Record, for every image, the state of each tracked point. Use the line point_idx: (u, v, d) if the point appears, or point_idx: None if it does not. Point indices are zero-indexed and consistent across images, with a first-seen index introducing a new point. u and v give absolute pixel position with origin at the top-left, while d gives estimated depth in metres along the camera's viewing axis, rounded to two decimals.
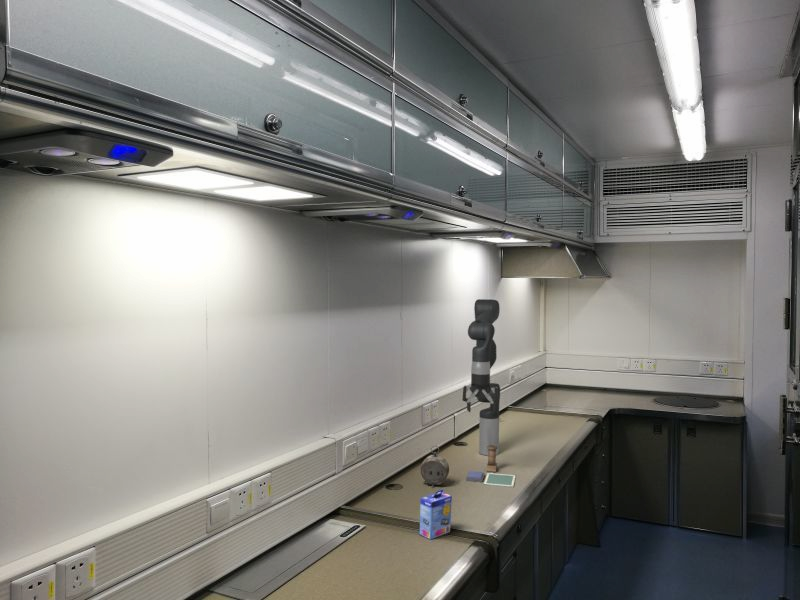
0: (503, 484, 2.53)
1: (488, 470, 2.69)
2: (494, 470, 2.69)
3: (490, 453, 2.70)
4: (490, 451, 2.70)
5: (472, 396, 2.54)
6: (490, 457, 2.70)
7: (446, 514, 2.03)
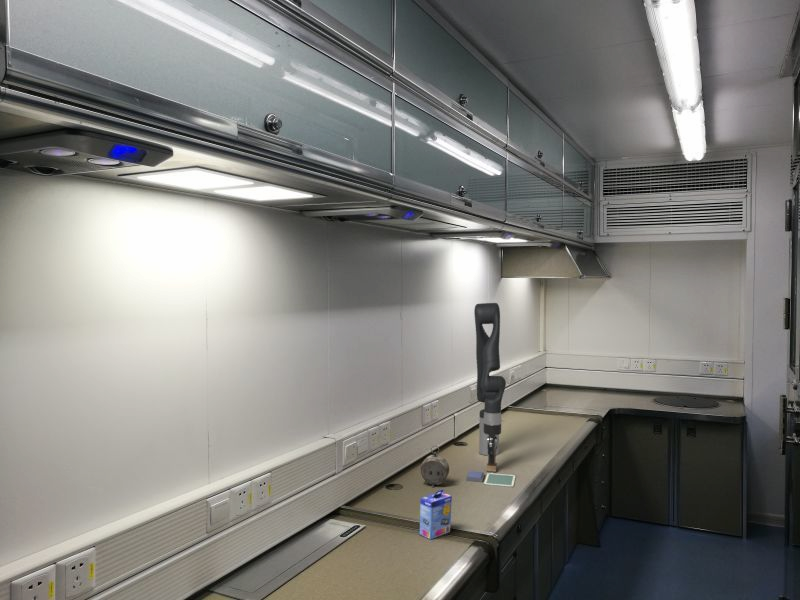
0: (503, 484, 2.53)
1: (488, 470, 2.69)
2: (494, 470, 2.69)
3: None
4: (490, 451, 2.70)
5: (495, 447, 2.69)
6: None
7: (446, 514, 2.03)
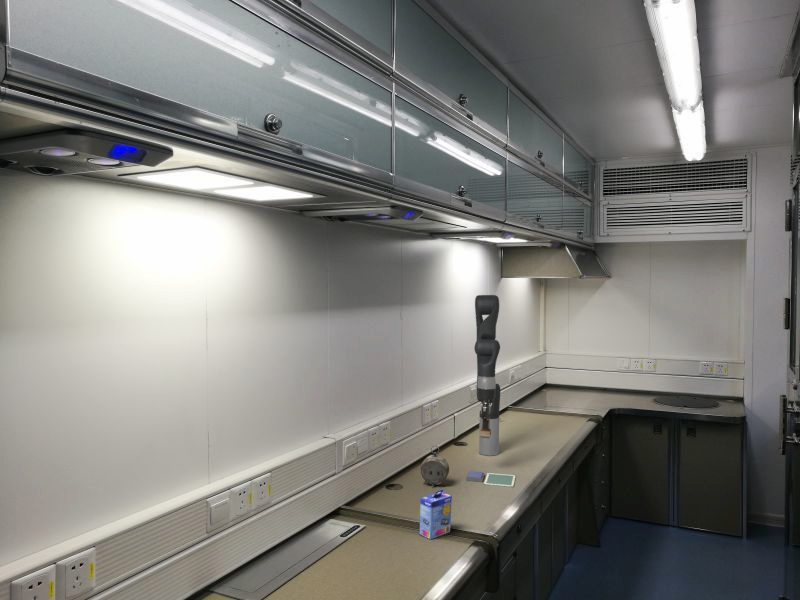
0: (503, 484, 2.53)
1: (482, 435, 2.64)
2: (488, 435, 2.63)
3: None
4: None
5: (489, 412, 2.64)
6: None
7: (446, 514, 2.03)
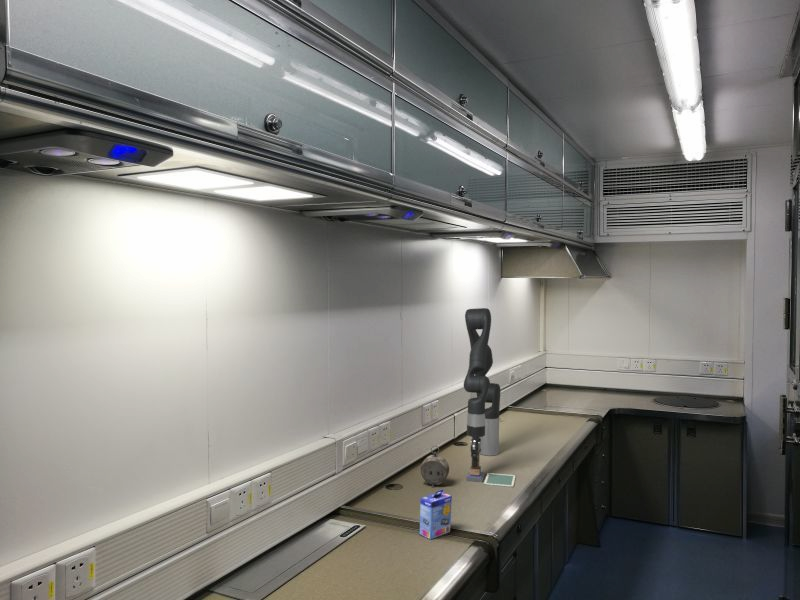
0: (503, 484, 2.53)
1: (471, 474, 2.58)
2: (477, 474, 2.58)
3: None
4: None
5: None
6: None
7: (446, 514, 2.03)
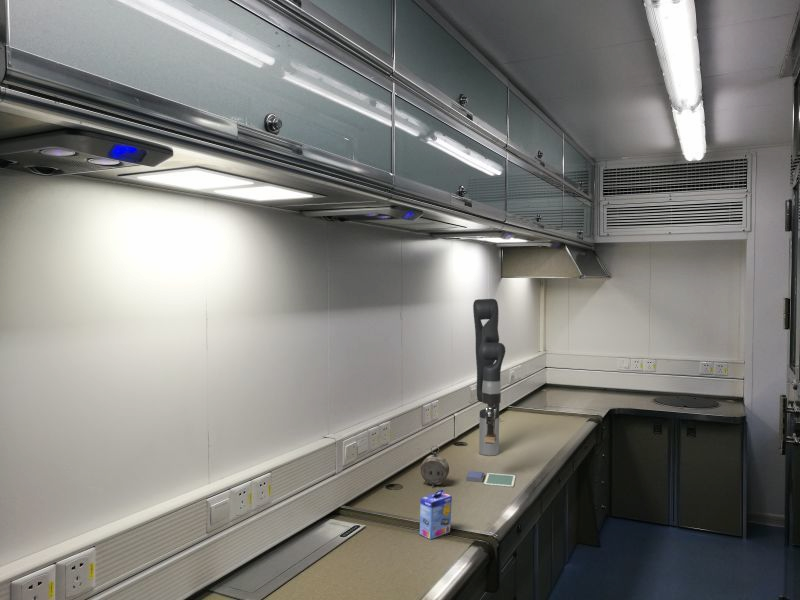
0: (503, 484, 2.53)
1: (486, 441, 2.57)
2: (493, 441, 2.56)
3: None
4: (489, 421, 2.58)
5: (494, 417, 2.57)
6: None
7: (446, 514, 2.03)
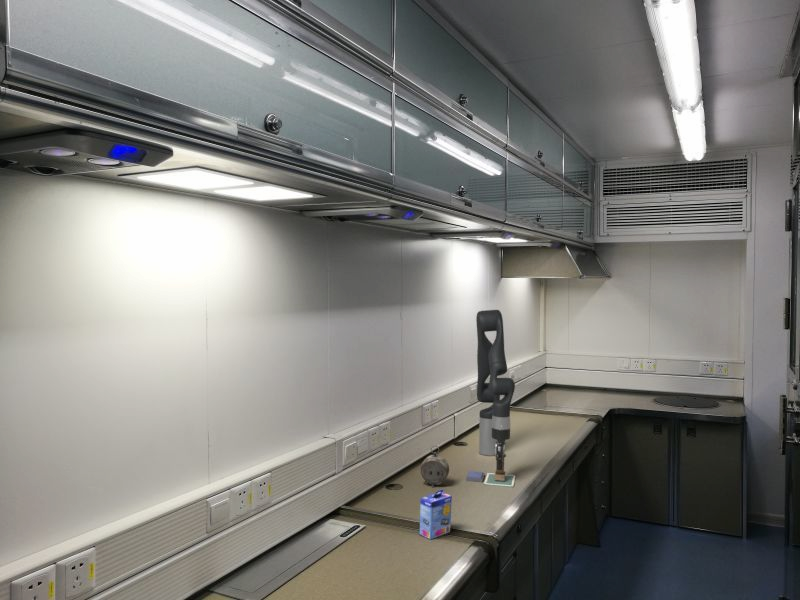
0: (503, 484, 2.53)
1: (496, 479, 2.56)
2: (503, 479, 2.56)
3: None
4: None
5: (504, 452, 2.56)
6: None
7: (446, 514, 2.03)
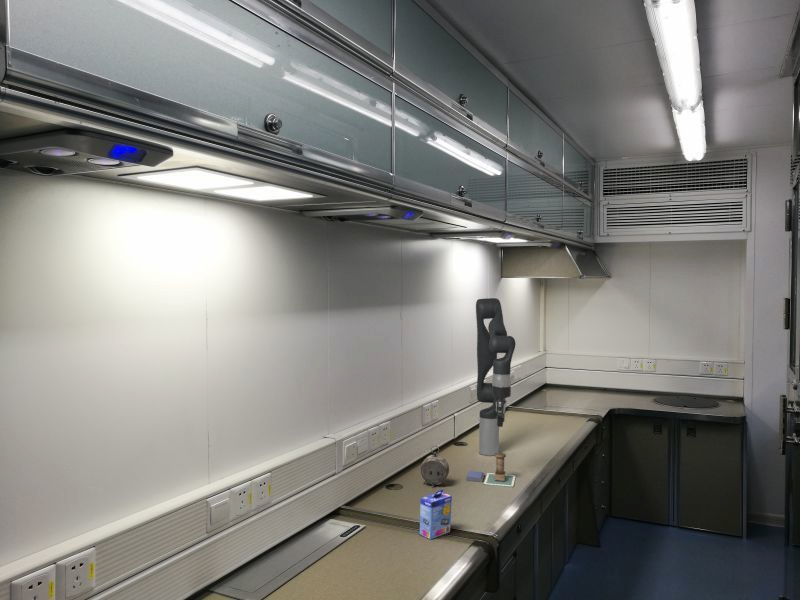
0: (503, 484, 2.53)
1: (496, 479, 2.56)
2: (503, 479, 2.56)
3: (498, 461, 2.57)
4: (498, 459, 2.57)
5: (504, 409, 2.55)
6: (498, 465, 2.57)
7: (446, 514, 2.03)
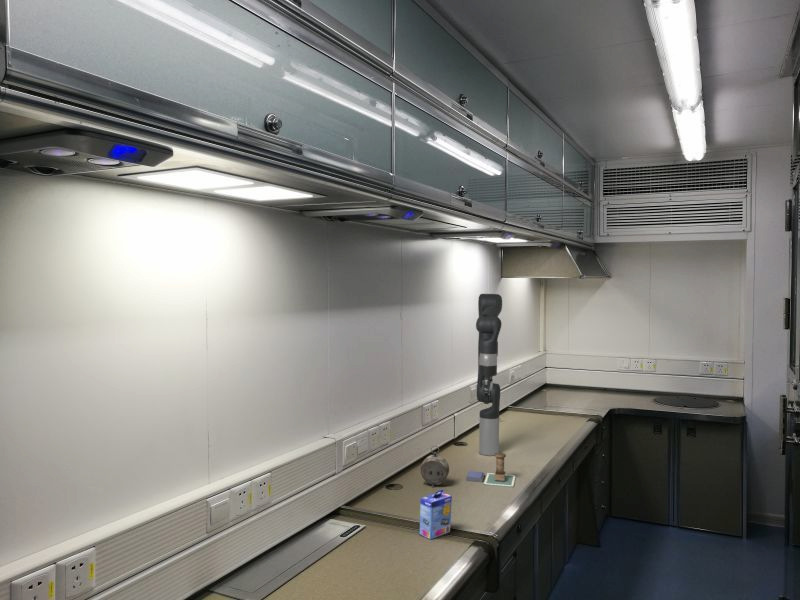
0: (503, 484, 2.53)
1: (496, 479, 2.56)
2: (503, 479, 2.56)
3: (498, 461, 2.57)
4: (498, 459, 2.57)
5: (491, 387, 2.65)
6: (498, 465, 2.57)
7: (446, 514, 2.03)
